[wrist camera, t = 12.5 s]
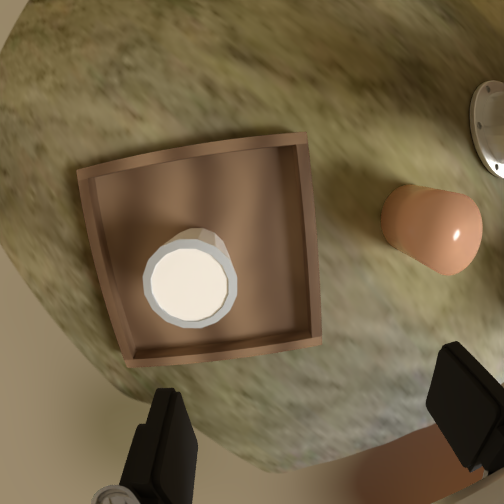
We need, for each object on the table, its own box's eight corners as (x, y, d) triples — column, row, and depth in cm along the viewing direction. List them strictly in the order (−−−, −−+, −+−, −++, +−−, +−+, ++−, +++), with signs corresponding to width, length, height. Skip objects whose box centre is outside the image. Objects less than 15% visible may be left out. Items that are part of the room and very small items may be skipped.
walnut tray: (299, 134, 27) (306, 131, 25) (315, 332, 33) (322, 344, 30) (87, 168, 26) (76, 169, 24) (132, 354, 32) (127, 367, 30)
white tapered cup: (147, 267, 29) (126, 297, 22) (185, 205, 27) (172, 219, 21) (209, 306, 30) (205, 344, 23) (250, 247, 29) (257, 274, 22)
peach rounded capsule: (433, 182, 29) (483, 191, 22) (434, 245, 31) (479, 268, 24) (378, 186, 29) (423, 196, 21) (381, 255, 31) (422, 282, 23)
